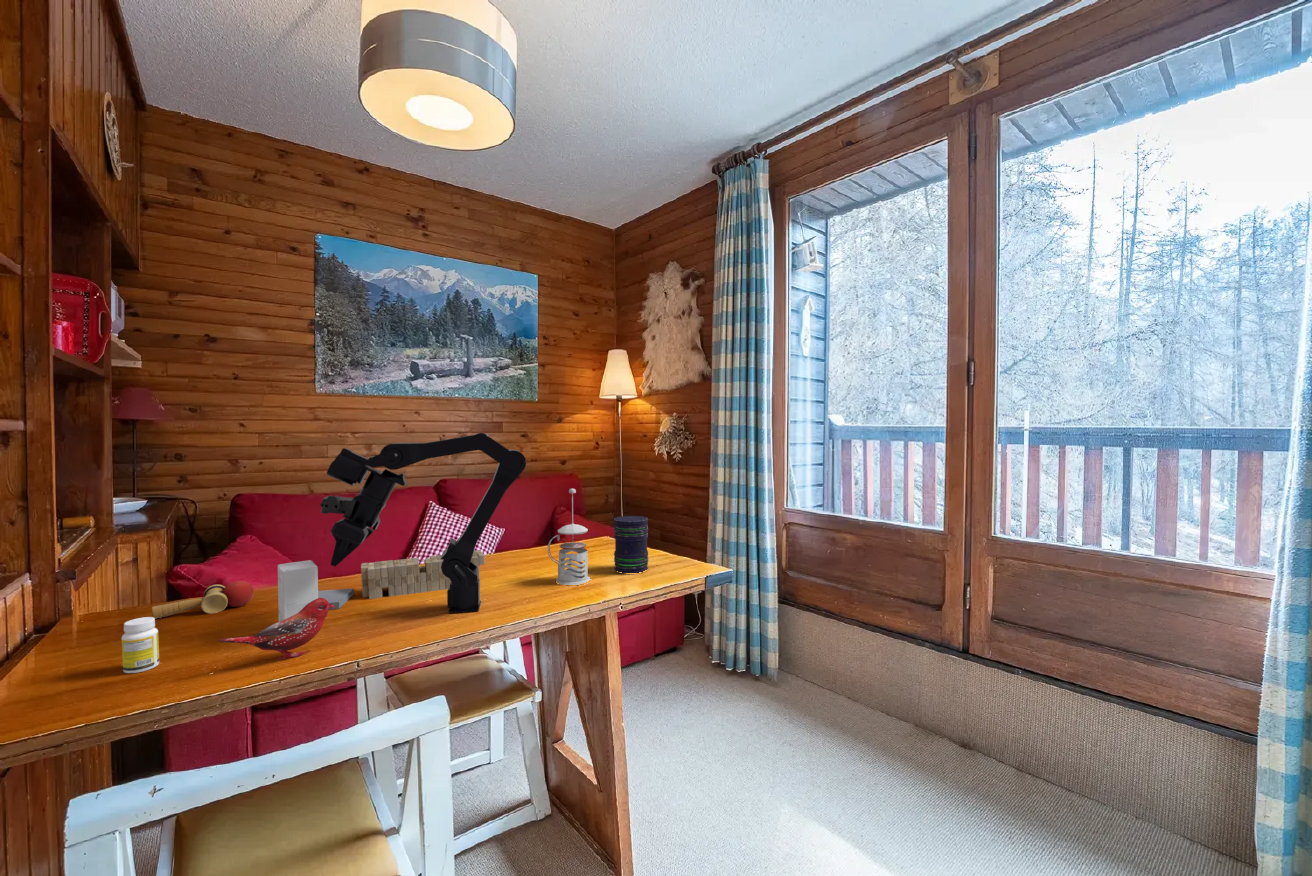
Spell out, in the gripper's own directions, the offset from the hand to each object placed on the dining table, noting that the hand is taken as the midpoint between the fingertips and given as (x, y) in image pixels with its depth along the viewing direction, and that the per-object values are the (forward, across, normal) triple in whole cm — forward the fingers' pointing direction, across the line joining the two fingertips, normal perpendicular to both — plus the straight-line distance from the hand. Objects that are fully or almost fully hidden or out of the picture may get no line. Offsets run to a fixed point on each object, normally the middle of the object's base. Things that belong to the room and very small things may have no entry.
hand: (338, 560), depth 121 cm
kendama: (+26, -16, -21) cm, 38 cm away
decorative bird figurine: (+14, +20, +2) cm, 25 cm away
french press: (-12, -15, +52) cm, 56 cm away
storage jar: (-21, -21, +69) cm, 75 cm away
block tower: (+5, -20, +20) cm, 29 cm away
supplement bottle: (+25, +16, -18) cm, 34 cm away
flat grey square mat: (+15, -15, 0) cm, 21 cm away
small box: (+15, +1, 0) cm, 15 cm away
